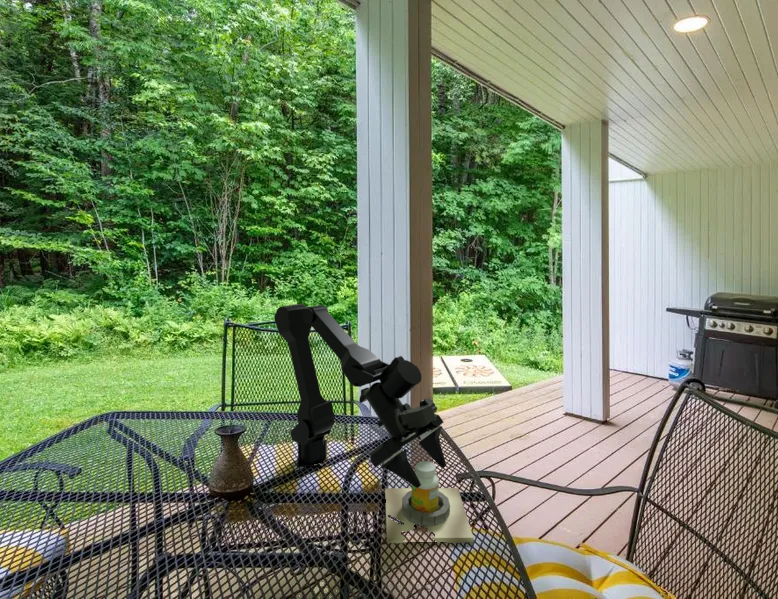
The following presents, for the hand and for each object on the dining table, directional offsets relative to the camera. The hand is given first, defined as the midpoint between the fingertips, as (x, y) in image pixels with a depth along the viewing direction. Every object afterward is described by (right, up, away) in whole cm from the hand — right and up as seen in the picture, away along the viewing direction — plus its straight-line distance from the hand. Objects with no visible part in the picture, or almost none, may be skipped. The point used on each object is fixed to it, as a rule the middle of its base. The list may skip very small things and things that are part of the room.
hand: (432, 476), depth 88 cm
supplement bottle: (-1, -8, +2) cm, 8 cm away
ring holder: (-1, -9, +2) cm, 9 cm away
